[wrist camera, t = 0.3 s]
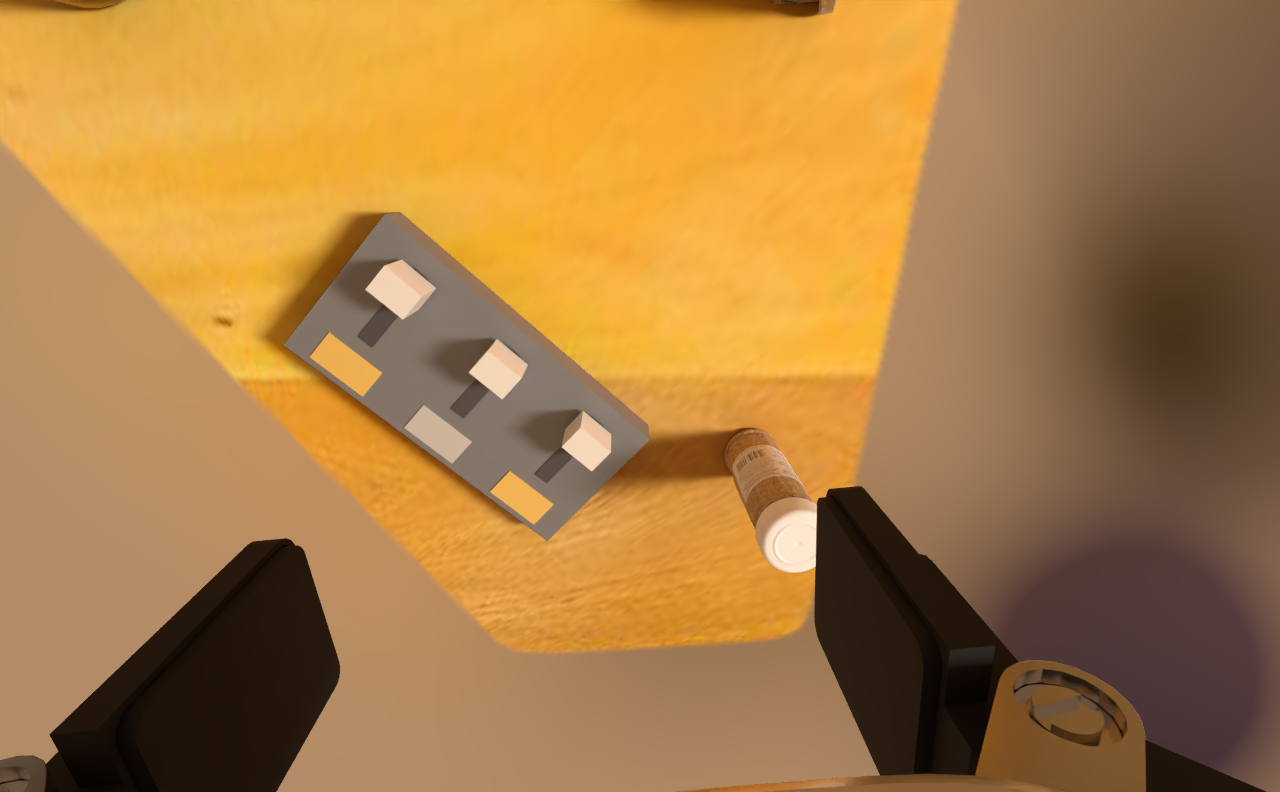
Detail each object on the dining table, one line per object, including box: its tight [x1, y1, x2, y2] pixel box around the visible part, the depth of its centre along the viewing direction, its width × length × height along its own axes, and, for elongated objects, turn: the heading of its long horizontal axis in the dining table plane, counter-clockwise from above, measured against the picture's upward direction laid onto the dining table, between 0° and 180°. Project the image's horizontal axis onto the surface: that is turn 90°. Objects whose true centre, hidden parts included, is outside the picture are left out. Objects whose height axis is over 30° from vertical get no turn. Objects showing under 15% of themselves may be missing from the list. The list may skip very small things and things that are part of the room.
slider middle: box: [469, 339, 528, 399], centre depth 40 cm, size 3×2×3 cm
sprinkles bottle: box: [724, 429, 817, 573], centre depth 42 cm, size 5×5×13 cm
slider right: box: [562, 411, 611, 471], centre depth 42 cm, size 3×2×3 cm
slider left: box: [365, 260, 436, 319], centre depth 38 cm, size 3×2×3 cm
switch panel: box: [284, 212, 650, 541], centre depth 44 cm, size 24×12×3 cm, turn 47°
